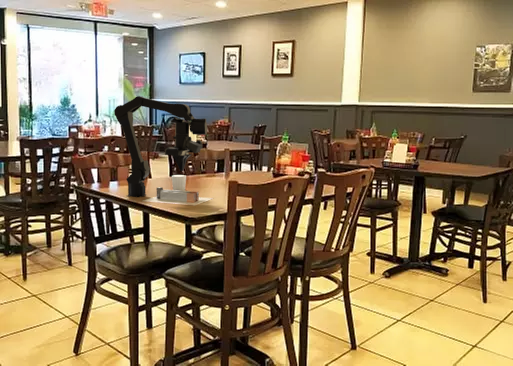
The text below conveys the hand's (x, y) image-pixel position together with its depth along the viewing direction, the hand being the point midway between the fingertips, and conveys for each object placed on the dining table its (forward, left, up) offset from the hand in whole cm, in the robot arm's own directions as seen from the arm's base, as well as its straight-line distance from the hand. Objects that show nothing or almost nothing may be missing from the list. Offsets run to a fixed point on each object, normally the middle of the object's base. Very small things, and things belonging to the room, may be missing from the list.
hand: (181, 170), depth 219 cm
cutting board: (+2, -7, -12) cm, 14 cm away
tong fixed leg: (+3, -10, -11) cm, 15 cm away
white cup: (-11, +19, -12) cm, 25 cm away
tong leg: (+2, -8, -11) cm, 13 cm away
